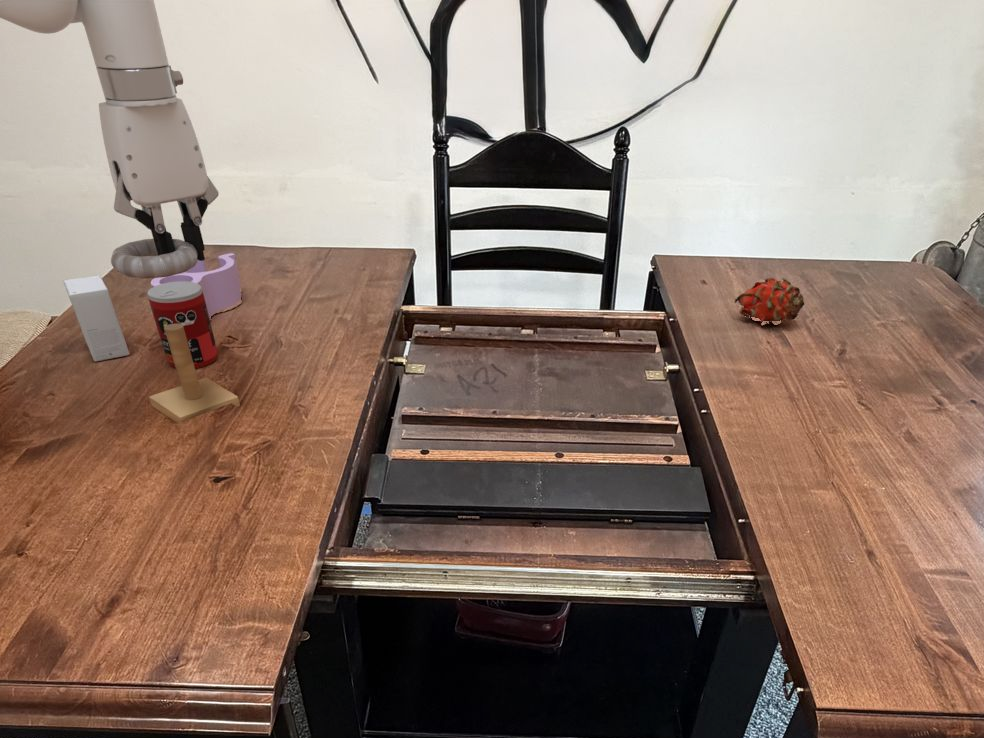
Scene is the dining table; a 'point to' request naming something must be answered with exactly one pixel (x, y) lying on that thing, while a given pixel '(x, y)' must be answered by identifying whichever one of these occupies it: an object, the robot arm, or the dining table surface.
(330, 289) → the dining table surface
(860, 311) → the dining table surface
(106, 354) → the small box
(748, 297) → the dragon fruit
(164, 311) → the canned food
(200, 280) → the clip
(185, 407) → the stand
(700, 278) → the dining table surface
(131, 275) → the ring
